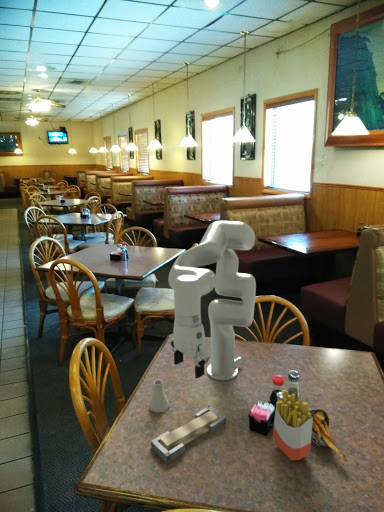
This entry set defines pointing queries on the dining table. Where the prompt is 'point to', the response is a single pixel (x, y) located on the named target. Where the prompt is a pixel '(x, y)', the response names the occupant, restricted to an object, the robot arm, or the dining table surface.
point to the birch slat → (188, 431)
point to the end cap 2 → (217, 423)
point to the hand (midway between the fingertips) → (189, 369)
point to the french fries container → (293, 426)
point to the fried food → (323, 431)
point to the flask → (159, 398)
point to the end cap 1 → (163, 452)
